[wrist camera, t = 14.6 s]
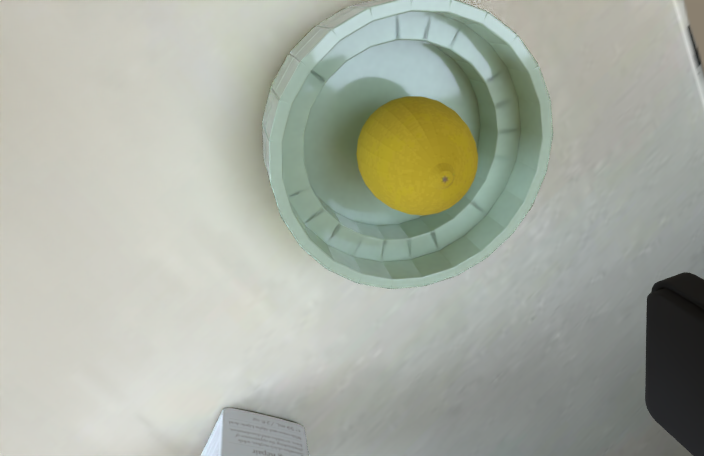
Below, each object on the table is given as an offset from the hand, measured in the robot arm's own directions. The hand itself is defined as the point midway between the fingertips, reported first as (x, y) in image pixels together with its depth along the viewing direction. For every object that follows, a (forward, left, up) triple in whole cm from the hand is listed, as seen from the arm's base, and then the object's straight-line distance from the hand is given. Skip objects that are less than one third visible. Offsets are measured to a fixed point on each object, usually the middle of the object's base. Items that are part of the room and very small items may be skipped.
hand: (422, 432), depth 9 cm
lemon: (+5, +3, -22) cm, 22 cm away
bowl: (+5, +3, -22) cm, 23 cm away
